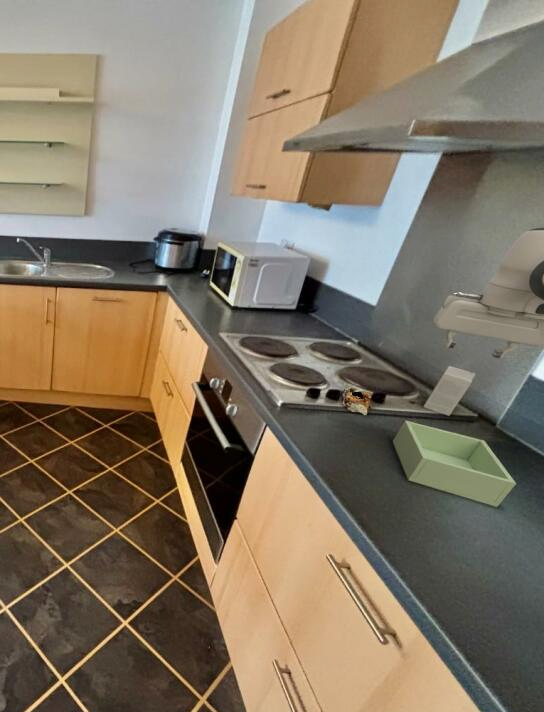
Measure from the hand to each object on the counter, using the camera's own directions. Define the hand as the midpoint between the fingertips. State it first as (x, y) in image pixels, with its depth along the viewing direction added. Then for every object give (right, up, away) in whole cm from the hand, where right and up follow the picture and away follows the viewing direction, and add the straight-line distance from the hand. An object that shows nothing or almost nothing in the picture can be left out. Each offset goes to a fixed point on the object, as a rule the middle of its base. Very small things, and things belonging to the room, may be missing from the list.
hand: (471, 352), depth 104 cm
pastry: (-24, -14, +6) cm, 28 cm away
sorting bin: (-25, -26, -17) cm, 40 cm away
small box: (-1, -15, +8) cm, 17 cm away
